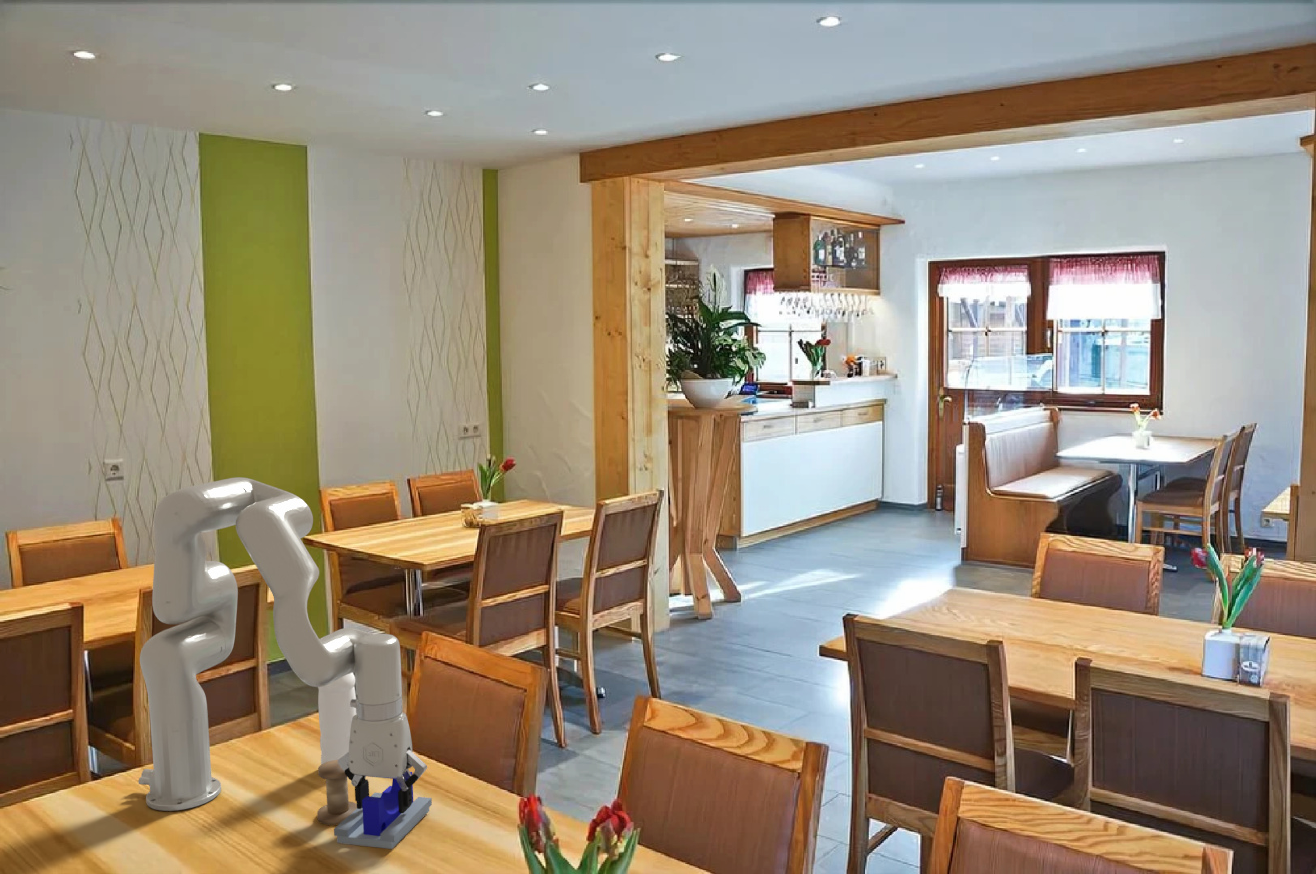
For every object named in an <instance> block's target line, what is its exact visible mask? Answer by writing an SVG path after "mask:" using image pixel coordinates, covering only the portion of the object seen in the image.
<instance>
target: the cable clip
mask: <svg viewBox="0 0 1316 874" xmlns="http://www.w3.org/2000/svg"><path fill="white" fill-rule="evenodd" d="M410 773H411V775H412V774H413V771H410ZM413 787H414V784H413V785H412V803H413V802H414V788H413ZM400 789H401V788H400V786H399V784H398V782H397V780H396V779H392V784H391V785H389V786H388V787H387V788H385V789H384V790H383V791H382V792H381V793H382V795H381V798H379V797H370V795H369V796H366V797H365V798H364V799H363V800H362V807H363V830H364V834H365V835H374V836H380V834H381V833H382V832H383V831H384V830H385V829H386V828H387V827H388V826H389V825H390V824H391V823H392V822H393V821H394V820H395V819H396V818H397V817H398V816H399V815H400V814H401V813H400V812H399V808H398V791H399V790H400Z"/></svg>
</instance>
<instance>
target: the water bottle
mask: <svg viewBox="0 0 1316 874" xmlns="http://www.w3.org/2000/svg"><path fill="white" fill-rule="evenodd" d="M317 689H318V696H317V697H318V698H317V699H318V702H317V703H318V704H317V705H318V706H317V708H318V722H319V730H320V738H319V743H320V745H319V746H320V751H321V755H320V765H322V764H323V763H325V762H328V761H332V760H339V759H340V758H341V757H343V756H344V755H345V754H346V753H348V752H349V737H350V729H351V723H352V718H353V716H354V715H356V714H357V713H356V708H354V707H351V706H350V702H351V700H352V699H356V680H355V673H354V672H353V673H350V674H347V675H345V676H343V677H341V678H339V679H338V680H336V681H334V682H332V683H330V684H328V685H326V686H322V687H317Z"/></svg>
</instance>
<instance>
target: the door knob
mask: <svg viewBox="0 0 1316 874" xmlns="http://www.w3.org/2000/svg"><path fill="white" fill-rule="evenodd" d="M317 769H318V770H317V772H318V777H320V779H324V780H325V786H326V788H325V789H326V791H325V792H326V804H325V805H323V806H321V807H320V808H319V809H318V810H317V815H316V816H317V821H318V822H319V823H320V824H323V825H327V826H335V825H337V826H338V825H339V824H340V823H341V822H342V821H343V820H344V819H346V818H347V817H348V816H349V815H350V814H351V813H352V812H354V811H355V810H356V809H357V802H353V801H349V784H348V782H349V781H348V777H347V776H346V775H345V771H344V770H343V769H342V768H341V767H340V765H339V764H338V760H332V761H328V762H325V763H323V764H322V765H321V764H320V765H319V766H318V768H317Z"/></svg>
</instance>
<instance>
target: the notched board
mask: <svg viewBox="0 0 1316 874" xmlns="http://www.w3.org/2000/svg"><path fill="white" fill-rule="evenodd" d="M381 795H382V792H374V793H373V794H372V795H371V796H370V795H369V796H370V797H379V798H381ZM432 799H433V798H432V797H425V796H418V797H417V798H416V799H415V800H413V803H412V804H411V806H410V807H409V808H408V809H407V810H406V811H405V812H404V813H401V814H400V815H399V816H398V817H397V818H396V819H395V820H394V821H393V822H392V823H391V824H390V825H389V826H388V827H387V828H386V829H385V830H384V831H383V832H382V833H381V834H380V836H374V835H365V834H364V830H363V808H361V809H356V810H355V811H354V812H352V813H351V814H350V815H349V816H348V817H347V818H346V819H344V820H343V821H342V822H341V823H340V824H338V825H337V826H335V827H334V828H333V835H334V836H335V837H336V843H338V844H344V845H351V846H352V845H353V846H360V847H361V846H362V847H363V846H364V847H370V848H371V847H372V848H380V849H389V850H392V849H394V848H395V846H397V844H399V843H400V842H401V840H402V839H404V837H406V835H408V833H409V832H410V831H411V830H412V829H413V828H414V827H416V825H417V824H418V823H419V822H420V821H421V820H422V819H423V818H424V817H425V816H426V815H427V814H428V813H429V812H430V807H431V806H432V805H433V804H432V801H433V800H432Z"/></svg>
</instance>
